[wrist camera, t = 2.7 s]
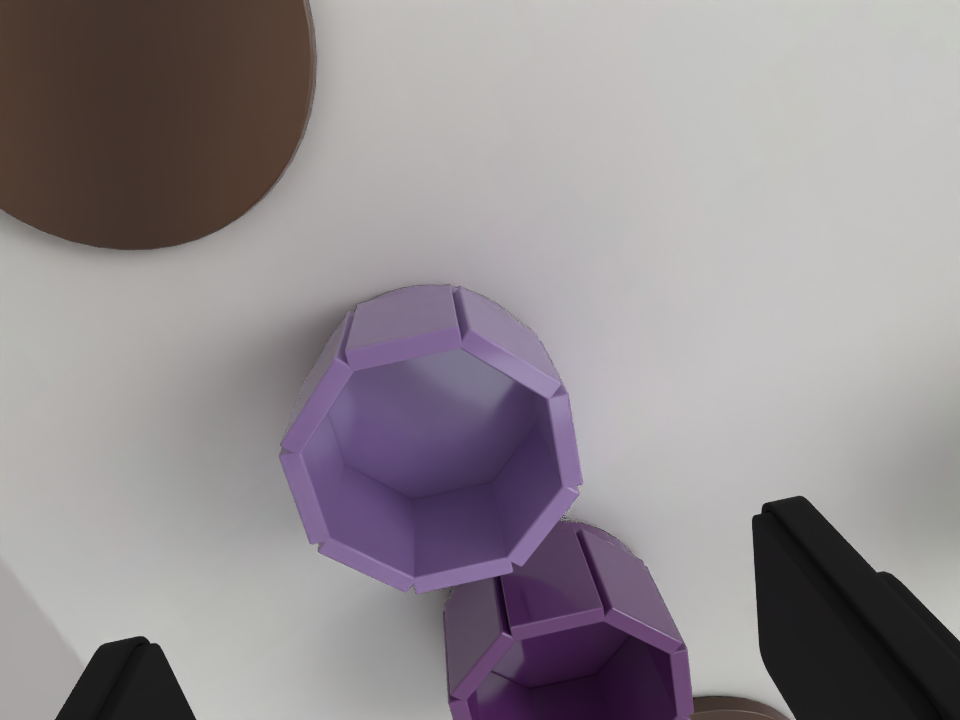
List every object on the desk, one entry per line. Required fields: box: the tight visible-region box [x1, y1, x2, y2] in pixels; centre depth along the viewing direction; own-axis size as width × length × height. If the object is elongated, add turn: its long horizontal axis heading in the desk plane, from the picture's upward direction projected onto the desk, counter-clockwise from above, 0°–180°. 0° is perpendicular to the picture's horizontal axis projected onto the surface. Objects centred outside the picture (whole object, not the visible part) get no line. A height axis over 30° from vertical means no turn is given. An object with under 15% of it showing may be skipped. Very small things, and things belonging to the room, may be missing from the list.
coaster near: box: [0, 0, 317, 250], centre depth 15 cm, size 9×9×1 cm
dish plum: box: [443, 521, 694, 720], centre depth 20 cm, size 6×6×4 cm
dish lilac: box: [279, 284, 583, 594], centre depth 17 cm, size 6×6×4 cm
